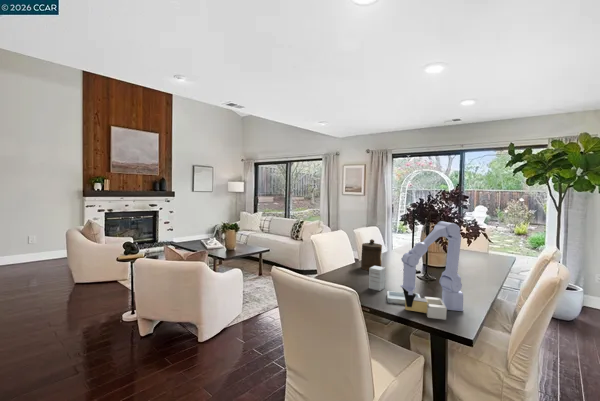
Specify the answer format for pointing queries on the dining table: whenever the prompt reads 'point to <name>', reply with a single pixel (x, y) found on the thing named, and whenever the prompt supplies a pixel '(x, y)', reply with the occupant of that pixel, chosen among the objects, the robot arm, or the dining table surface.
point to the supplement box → (377, 278)
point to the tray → (397, 297)
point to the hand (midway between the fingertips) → (408, 304)
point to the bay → (436, 308)
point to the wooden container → (371, 255)
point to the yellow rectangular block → (418, 305)
